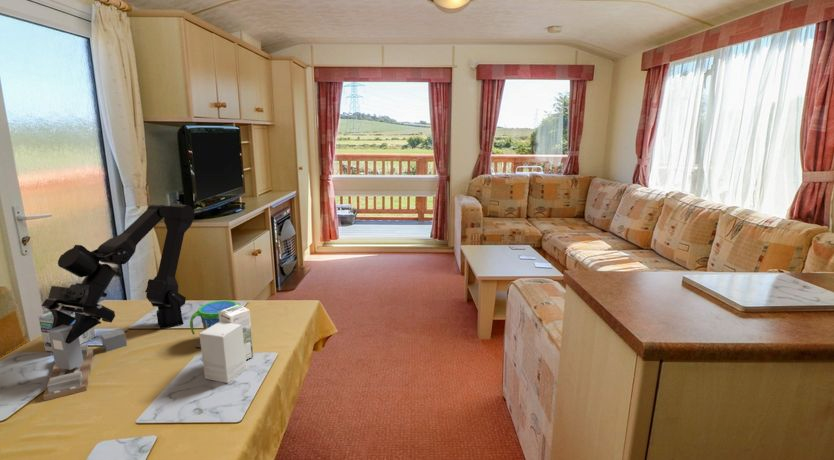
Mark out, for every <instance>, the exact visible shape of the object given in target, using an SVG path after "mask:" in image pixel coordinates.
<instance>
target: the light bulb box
mask: <svg viewBox="0 0 834 460" xmlns="http://www.w3.org/2000/svg"><path fill="white" fill-rule="evenodd" d="M80 314H81V313H80ZM70 316H72V317H74V318H75V312H73V314H71V315H70ZM53 319H54V317H53V315H52V312H50V311H48V312H45V313H43V314H40V315H38V321H39V326H40V332H41V335H42V341H43V345H44V350H45V351H47V352H52V347H51V342H50V338H49V333H48V330H51V329H52V325H53ZM74 323H75V320H74V321H73V322H72V323H71V324H70V325H69V326H73V325H74ZM94 337H95V338H96V331H95V326H94V327H93V328H91V329H90V330H88V331H86V332H85V333H84V334H82V335H81V336H80V337H79V340H80V345H82V344H85V343H87V342H88V340H89V341H90V339H91V340H92V338H93V339H95V338H94Z"/></svg>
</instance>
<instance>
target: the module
mask: <svg viewBox="0 0 834 460" xmlns="http://www.w3.org/2000/svg"><path fill="white" fill-rule="evenodd" d="M72 327H73V326H67V325H61V326H58V327H56V328H53V329H51V330H48V333H49V338H50V342H51V347H52V351H51V352H52V355H53V360H54V364H55V366H56V367H59V368H64V369H69V370H71V369H73V368H75V367H77V366H79V365H81V364H83V363H84V361H83V356H82V351H81V346H80V345H81V344H80V340H79V337H78V338H77V339H75V340H74V341H73V342H71V343H70V344H68V343H65V341H66V338H67V336H68V334H69V332H70V330H71V329H72Z"/></svg>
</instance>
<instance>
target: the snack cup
mask: <svg viewBox="0 0 834 460" xmlns="http://www.w3.org/2000/svg"><path fill="white" fill-rule="evenodd" d="M236 305H239V306H242V305H241V304H239V303H236V302H235V301H232V300H217V301H211V302H208V303H205V304H203V305H200V307H198V310H197V311H195V312H194V313H193V314H192V316H191V317H190V319H189V320H190V321H189V327H190V330H191V333H192V335H195V331H194V322H193V321H194V319H196V317H200V318H201V323H202V326H203V331H204V330H206V329H208V328H209V327H211V326H213V325H215V324H216V323H218V322H219V313H218V312H219V311H222V310H224V309H227V308H230V307H233V306H236Z"/></svg>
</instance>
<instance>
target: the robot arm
mask: <svg viewBox="0 0 834 460" xmlns="http://www.w3.org/2000/svg"><path fill="white" fill-rule="evenodd" d="M195 213H196V212H195V210H194V208H193V207H192V206H190V205H188V204H175V203H174V204H172V203H171V204H169V205H165V204H151V205H148V206H147V208H146V210H145V211H144V212H143V213H142V214H140V216H138V218H136V220H134V221H132V223H131V224H130V225H129V226H128V227H127V228H126V229H125V230H123V232H121V233H120V234H118V235H116V236H114V237H111V238H109V239H108V240H106V241H104V242H103V243H102V244H100V245H99V246H98V247H97V248H96V249H93V250H91V251H90V250H89V249H87V248H86V247H85V246H83V245H81V244H74V245H73V248H70V249H68V250H66V251H65V252H63V254H61V255H60V256H59V259H58V260H57V266H58V267H60V268H61V269H63V270H65V271H66V272H69V273H70V274H73V275H75V276H76V277H78V278H83V280H82V281H81V283H80V282H76V283H74V284H71V285H70V286H69V287H68V286H60V285H59V286H58V285H51V286H50V289H49V293H48V298H45V300H44V301H43V302H42V304H41V307H42V308H45V309H48V312H52V315H53V317H54V319H53V325H52V329H53V328H56V327H58V326H61V325H67V326H69V325H70V324H71V323H72V322H73V321H74V320H75V323H74V325H73V327H72V329H71V330H70V332H69V334H68V336H67V338H66V341H65V343H68V344H70V343H71V342H73V341H74V340H75V339H77V338H78V337H80V336H81V335H82V334H84V333H85V332H86V331H88V330H90V329H91V328H93V327H94V328H95V327H96V326H97V325H101V324H102V321H103V322H105V323H112V322H113V321H114V319H115V317H116V312H115V310H112V309H111V308H109V307H106V306H104V305H103V304H99V302H100V300H101V298H107V295H108V293H107V292H106V290H107V289H108V287H109V286H110V284H111V282H112V281H113V279H114V278H123V272H122V271H121V267H116V266H111V265H120V266H121V265H125V264H127V263H128V262H129V261H130V260H131V258H132V257H133V256H134V254H135V253H136V251H137V250H136V249H137V245H138V244H139V243H140V242H141V241H142V240H143V239H144V238H145V237H146V236H147V234H149V233H150V232H151V231H152V230H153V229H154V228H155V227H156V226H157V225H158V224H159V222H161V221H162V219H163V222H164V224H165V227H166V234H165V239H164V244H163V248H162V251H161V252H162V254H161V257H160V261H159V267H158V271H157V274H156V275H155V276H154V278H152V279H150V278H149V279H148V280H147V285H146V289H145V291H144V292H145V293H146V295H145V296H146V299H147V300H148V301H149V302H150V303H151V306H152V307H157V310H156V313H155V314H156V319H157V325H158V326H159V328H160V329H166V328H171V327H176V326H180V325H183V324H184V320H183V316H182V315H183V314H182V307H183V306H184V305H185V304H186V299H187V298H186V296H184V295H182V294H181V293H179V284H178V282H177V279H176V275H177V273H176V272H177V269H178V264H179V260H180V255H181V251H182V247H183V246H182V245H183V242H184V236H185V233H186V232H187V231H188V230H189V229H190V227H191V226H192V224H193V221H194V219H195ZM110 264H111V265H110ZM73 312H75V318H74V317H72V316H70V315H71V314H73ZM80 313H81V314H80ZM100 320H101V321H100Z"/></svg>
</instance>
